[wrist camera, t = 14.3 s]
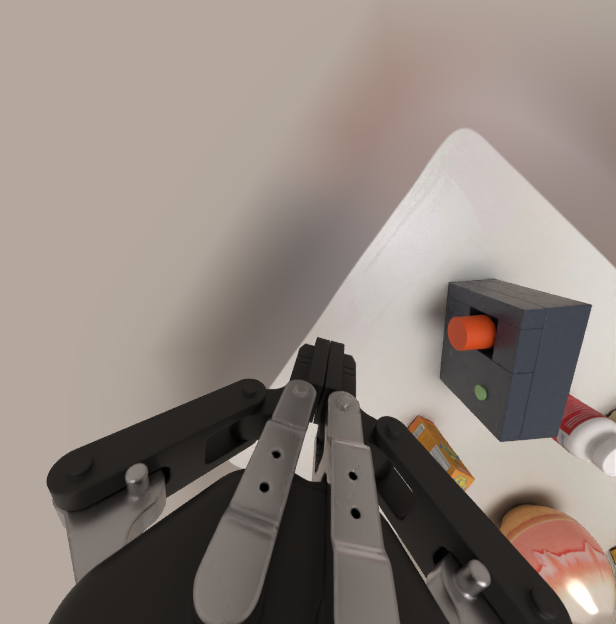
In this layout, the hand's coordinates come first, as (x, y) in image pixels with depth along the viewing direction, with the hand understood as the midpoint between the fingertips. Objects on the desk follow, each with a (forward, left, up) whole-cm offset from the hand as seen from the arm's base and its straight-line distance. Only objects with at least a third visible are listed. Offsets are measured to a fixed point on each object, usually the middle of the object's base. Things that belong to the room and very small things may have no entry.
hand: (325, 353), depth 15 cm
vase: (+53, +22, -20) cm, 60 cm away
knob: (+10, +15, -15) cm, 23 cm away
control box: (+14, +18, -20) cm, 30 cm away
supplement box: (+27, +9, -20) cm, 35 cm away
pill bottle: (+29, +27, -20) cm, 44 cm away
